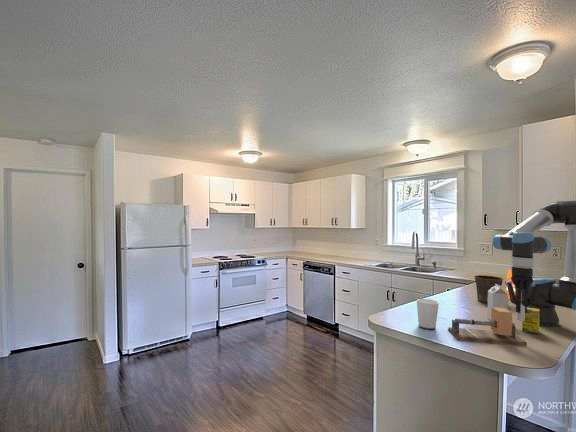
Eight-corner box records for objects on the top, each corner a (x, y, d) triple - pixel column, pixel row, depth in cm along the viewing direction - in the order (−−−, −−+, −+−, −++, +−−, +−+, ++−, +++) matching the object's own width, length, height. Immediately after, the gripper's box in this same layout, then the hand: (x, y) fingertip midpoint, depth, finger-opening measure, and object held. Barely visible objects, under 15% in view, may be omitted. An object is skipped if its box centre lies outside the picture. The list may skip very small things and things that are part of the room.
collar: (502, 329, 140) (503, 307, 140) (511, 335, 133) (512, 312, 133) (491, 328, 141) (491, 307, 141) (499, 334, 134) (499, 311, 134)
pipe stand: (510, 335, 142) (510, 318, 142) (526, 345, 130) (526, 327, 130) (448, 330, 146) (448, 314, 146) (458, 340, 134) (458, 322, 134)
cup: (425, 331, 143) (426, 304, 143) (411, 324, 152) (412, 299, 153) (443, 330, 146) (443, 303, 146) (428, 323, 155) (428, 298, 155)
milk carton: (502, 319, 165) (503, 284, 165) (507, 323, 158) (508, 286, 159) (487, 318, 167) (488, 283, 167) (492, 322, 160) (492, 285, 160)
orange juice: (509, 297, 217) (510, 269, 218) (525, 300, 211) (525, 270, 211) (506, 298, 212) (506, 269, 213) (521, 301, 206) (522, 271, 206)
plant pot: (475, 303, 199) (476, 278, 199) (471, 297, 214) (472, 274, 214) (505, 306, 192) (506, 280, 193) (499, 300, 207) (500, 276, 207)
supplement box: (521, 331, 148) (522, 308, 148) (524, 328, 152) (524, 306, 152) (537, 334, 143) (538, 311, 144) (539, 331, 148) (539, 309, 148)
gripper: (532, 266, 139) (531, 318, 139) (501, 264, 141) (500, 316, 140) (544, 269, 131) (543, 324, 131) (510, 267, 133) (509, 321, 133)
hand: (520, 320), depth 136 cm, fingers closed
